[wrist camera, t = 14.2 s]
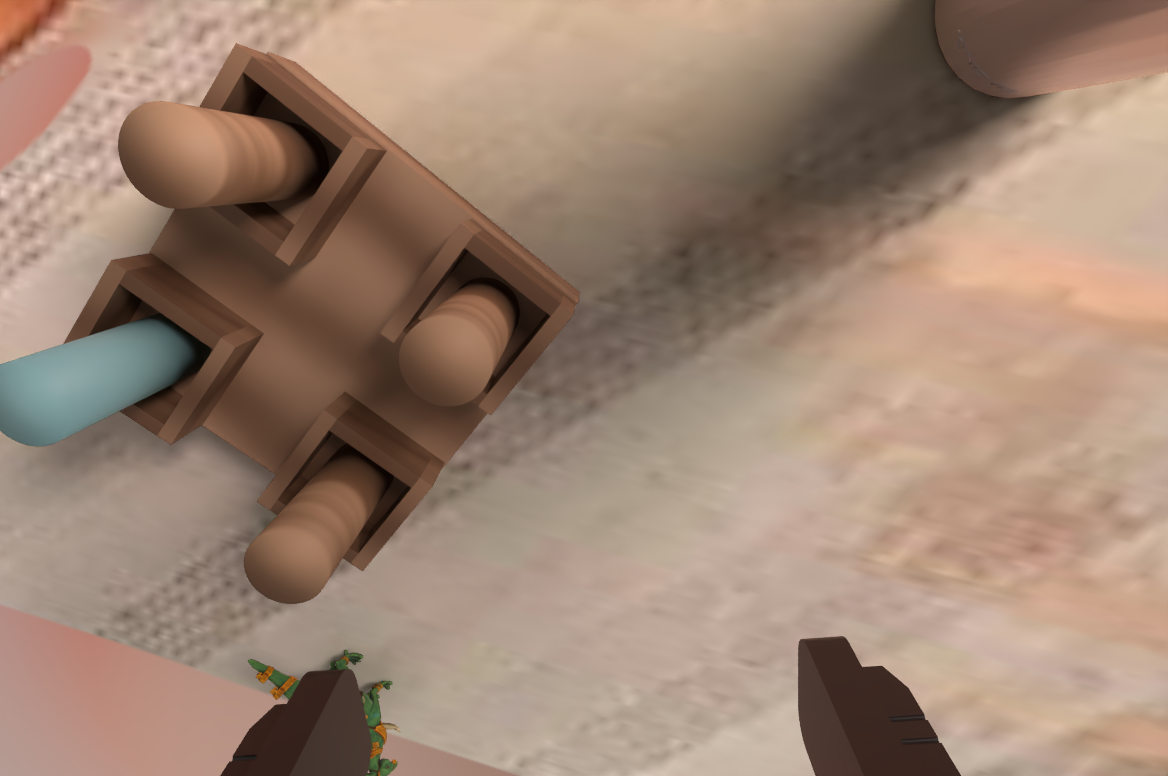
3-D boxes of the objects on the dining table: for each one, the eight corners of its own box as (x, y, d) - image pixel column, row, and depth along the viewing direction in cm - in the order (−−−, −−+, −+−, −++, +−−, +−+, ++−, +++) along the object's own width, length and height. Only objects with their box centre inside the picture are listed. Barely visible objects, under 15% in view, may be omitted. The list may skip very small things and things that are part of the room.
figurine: (399, 726, 48) (361, 833, 40) (269, 623, 45) (201, 716, 37) (428, 703, 47) (394, 807, 39) (297, 597, 44) (234, 687, 37)
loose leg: (135, 314, 35) (-34, 366, 26) (200, 307, 35) (54, 357, 26) (155, 378, 37) (1, 449, 27) (218, 372, 36) (85, 442, 27)
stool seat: (295, 62, 34) (125, -1, 22) (579, 292, 38) (572, 350, 25) (128, 337, 39) (-89, 414, 27) (394, 519, 42) (311, 661, 30)
